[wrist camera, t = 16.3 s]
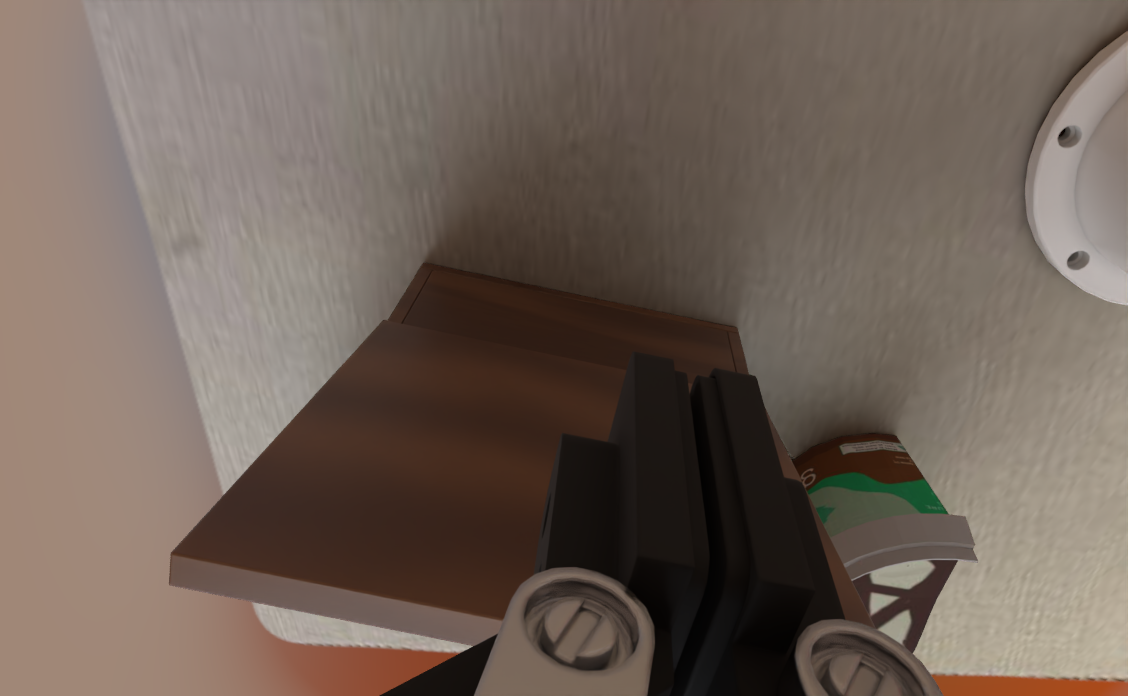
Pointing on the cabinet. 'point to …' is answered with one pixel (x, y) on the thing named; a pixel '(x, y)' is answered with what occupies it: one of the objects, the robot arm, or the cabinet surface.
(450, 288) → the chest
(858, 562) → the food container
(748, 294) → the cabinet surface
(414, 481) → the chest lid
